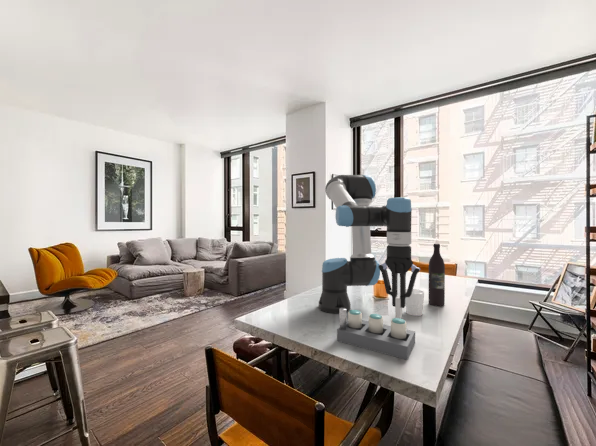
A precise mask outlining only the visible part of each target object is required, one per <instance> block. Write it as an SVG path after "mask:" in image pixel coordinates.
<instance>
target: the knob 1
mask: <svg viewBox="0 0 596 446" xmlns="http://www.w3.org/2000/svg"><path fill="white" fill-rule="evenodd" d="M362 320H363V313H362V312H361V311H360V310H359V309H350V311H348V312H347V321H348V326H349V327H351V328H361V327H362Z"/></svg>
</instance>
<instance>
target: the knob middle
mask: <svg viewBox="0 0 596 446" xmlns="http://www.w3.org/2000/svg"><path fill="white" fill-rule="evenodd" d="M368 321H369V331H370V332H372V333H382V332H383V325H384V316H383V315H381V314H379V313H372V314H369V315H368Z"/></svg>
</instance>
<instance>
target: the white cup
mask: <svg viewBox="0 0 596 446" xmlns="http://www.w3.org/2000/svg"><path fill="white" fill-rule="evenodd" d="M407 290H408V288H406V293H407ZM424 299H425V292H424V290H421V289H416V288H413V291H412V294H411V296H410V297H406V298H405V313H406V314H407V315H410V316H413V317H414V316H415V317H418V316H419V317H420V316H422V315H423V311H424Z"/></svg>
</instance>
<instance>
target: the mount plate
mask: <svg viewBox="0 0 596 446" xmlns="http://www.w3.org/2000/svg"><path fill="white" fill-rule="evenodd" d="M336 341H337V342H339V343H344V344H349V345H351V346H355V347H358V348H362V349H366V350H370V351H373V352H378V353H381V354H383V355H388V356H391V357H396V358H399V359H402V360H406V361H408V360H409V358H410V355H411V353H412V351H413V349H414V346H415V344H416V330H415V331H414V330H411V329H410V330H409V329H407V328H406V338H404V339H398V338H394V337H392V336H391V325H387V324H383V332H382V333H372V332H370V331H369V320H365V319H362V327H361V328H351V327H349V326H348V320H346V330H340V329H339V327H338V328H337V329H336Z"/></svg>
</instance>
